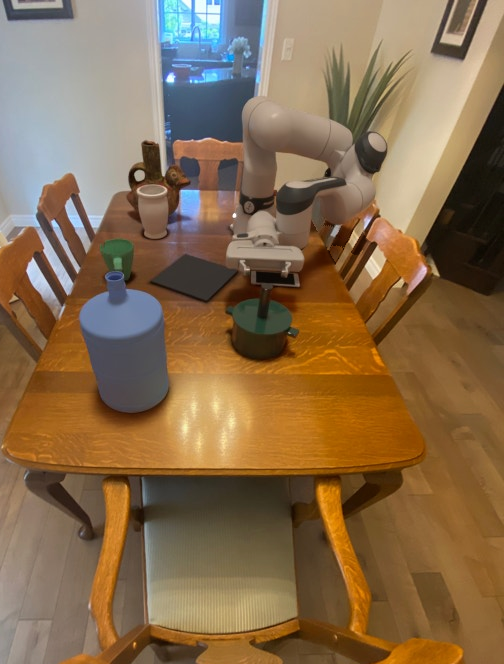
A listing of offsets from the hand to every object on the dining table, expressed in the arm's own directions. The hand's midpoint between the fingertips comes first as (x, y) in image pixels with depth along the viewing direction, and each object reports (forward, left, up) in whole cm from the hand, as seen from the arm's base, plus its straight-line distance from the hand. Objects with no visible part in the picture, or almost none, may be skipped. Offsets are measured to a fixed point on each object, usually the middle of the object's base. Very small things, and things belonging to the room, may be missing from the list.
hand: (265, 273), depth 91 cm
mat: (-9, -26, -14) cm, 31 cm away
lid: (+9, +4, -6) cm, 11 cm away
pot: (+9, +4, -14) cm, 17 cm away
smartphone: (-21, -4, -14) cm, 26 cm away
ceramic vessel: (-40, -61, -14) cm, 75 cm away
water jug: (+39, -13, -14) cm, 43 cm away
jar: (-27, -54, -14) cm, 62 cm away
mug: (+5, -44, -14) cm, 47 cm away
